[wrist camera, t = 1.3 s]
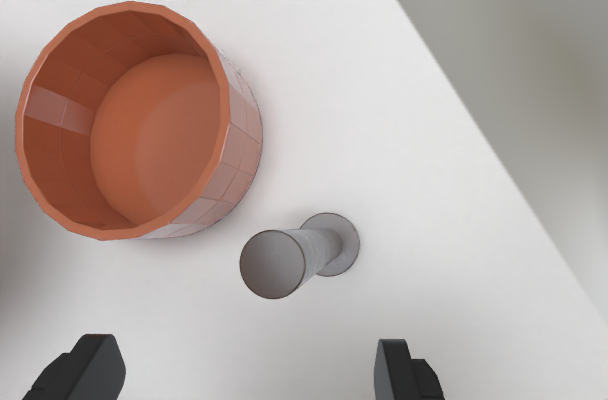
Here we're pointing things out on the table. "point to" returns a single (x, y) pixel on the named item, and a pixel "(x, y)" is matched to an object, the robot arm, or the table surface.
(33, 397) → the robot arm
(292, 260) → the stirrer
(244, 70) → the table surface
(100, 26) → the bowl
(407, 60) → the table surface
